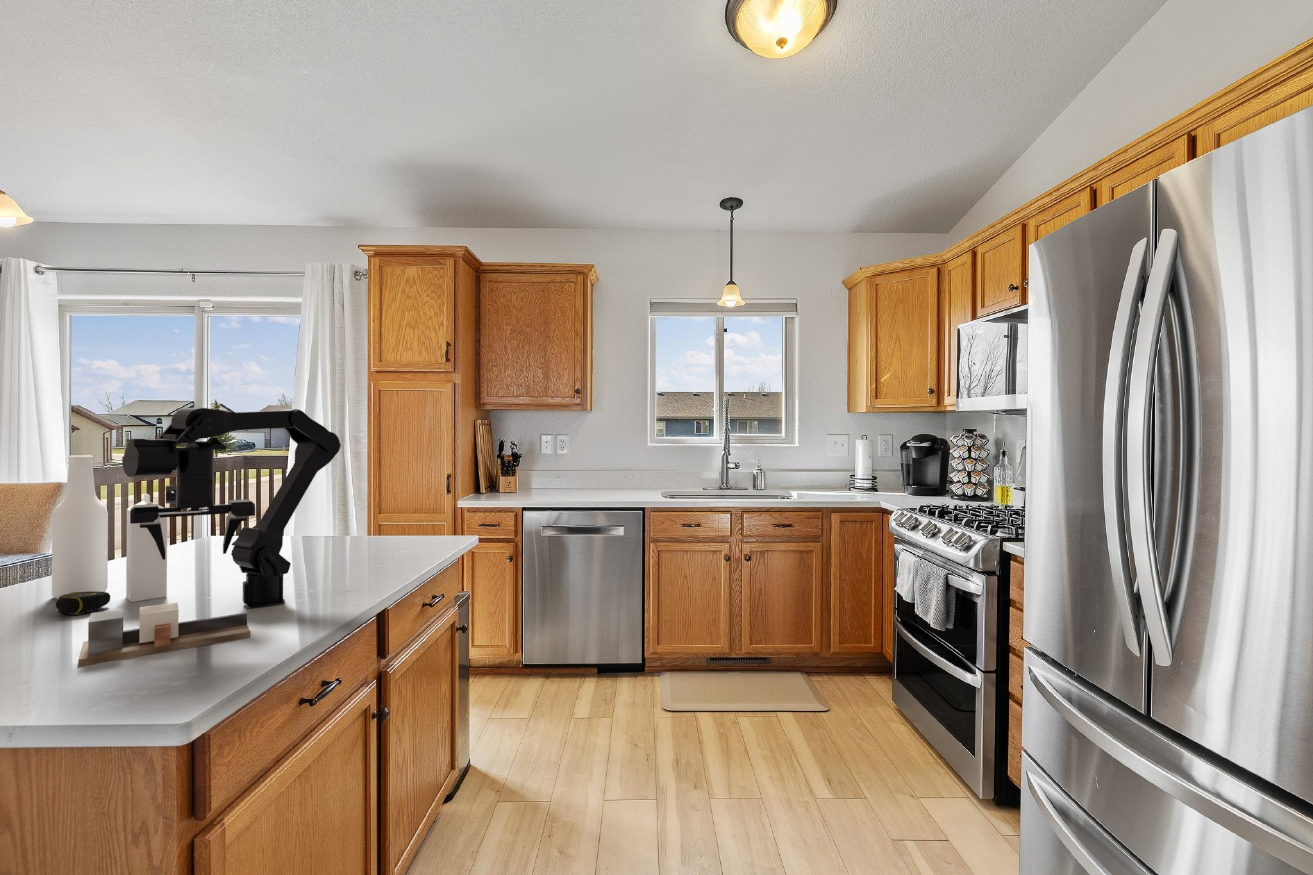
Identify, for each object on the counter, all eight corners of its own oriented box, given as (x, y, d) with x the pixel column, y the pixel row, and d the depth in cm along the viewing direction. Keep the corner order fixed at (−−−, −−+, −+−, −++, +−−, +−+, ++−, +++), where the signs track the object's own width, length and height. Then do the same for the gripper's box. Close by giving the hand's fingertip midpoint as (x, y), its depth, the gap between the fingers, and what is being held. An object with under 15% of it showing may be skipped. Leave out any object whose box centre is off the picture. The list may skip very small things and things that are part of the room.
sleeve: (177, 628, 108) (177, 602, 108) (178, 636, 103) (178, 609, 103) (139, 634, 104) (139, 607, 104) (139, 643, 100) (139, 614, 100)
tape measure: (112, 607, 125) (112, 588, 125) (88, 617, 118) (88, 597, 118) (73, 608, 124) (73, 589, 124) (46, 618, 117) (46, 598, 117)
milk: (130, 602, 128) (130, 496, 128) (126, 596, 132) (125, 493, 132) (167, 596, 133) (167, 494, 132) (162, 591, 137) (161, 491, 136)
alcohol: (97, 587, 139) (98, 454, 139) (114, 593, 135) (115, 455, 134) (44, 596, 131) (45, 455, 131) (60, 602, 127) (61, 456, 127)
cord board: (243, 622, 116) (243, 590, 116) (250, 637, 108) (250, 602, 108) (83, 647, 102) (83, 611, 102) (78, 666, 94) (78, 626, 94)
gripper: (248, 470, 129) (248, 544, 129) (131, 473, 117) (131, 555, 118) (255, 473, 121) (255, 553, 121) (130, 477, 109) (129, 565, 109)
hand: (194, 556), depth 117 cm, fingers open, 9 cm apart
